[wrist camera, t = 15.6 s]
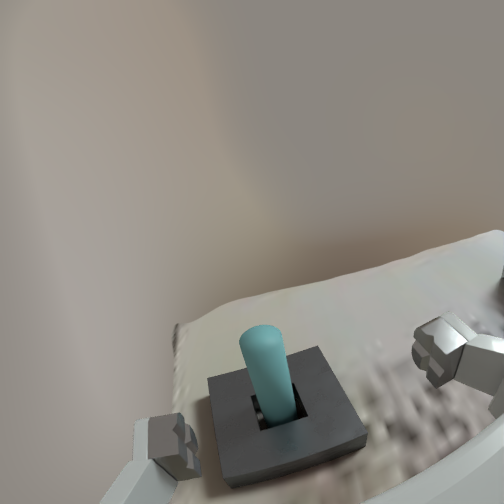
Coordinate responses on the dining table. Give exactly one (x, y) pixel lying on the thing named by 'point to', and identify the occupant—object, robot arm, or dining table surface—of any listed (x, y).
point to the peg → (269, 373)
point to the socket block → (287, 435)
